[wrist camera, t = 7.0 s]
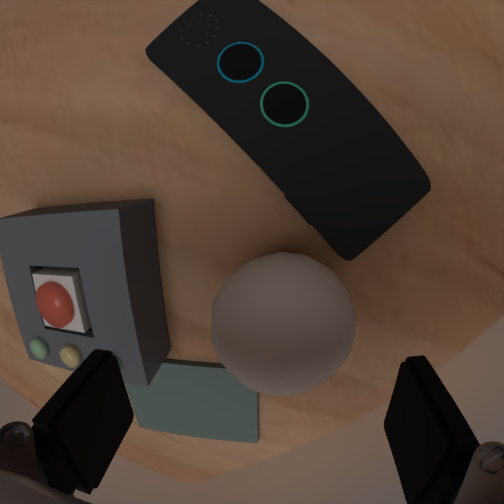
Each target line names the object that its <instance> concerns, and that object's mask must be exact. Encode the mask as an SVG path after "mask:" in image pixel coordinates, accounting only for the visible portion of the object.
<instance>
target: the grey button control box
mask: <svg viewBox="0 0 504 504" xmlns="http://www.w3.org/2000/svg"><path fill="white" fill-rule="evenodd" d="M0 253H1V258H2V263H3V268H4V273H5V277H6V282H7V286H8V290H9V294H10V298H11V302H12V305H13V309H14V313H15V316H16V319H17V323H18V326H19V329H20V332H21V335H22V338H23V341H24V344H25V347H26V350H27V353H28V355H29V358H30V359H32V360H36V361H39V362H42V363H46V364H49V365H53V366H56V367H60V368H64V369H67V370H71V371H75V370H76V369H77V368H78V367H79V365H80V364H81V363H82V362H83V361H84V360H85V359H86V358H87V357H88V355H89V354H90V353H91V352H92V351H93V350H94V349H102V350H108V351H111V352H112V353H113V355H114V356H116V357H117V360H118V363H119V367H120V371H121V374H122V378H123V381H124V382H125V383H131V384H136V385H142V386H149V385H150V383H151V381H152V380H153V378H154V376H155V375H156V373H157V372H158V370H159V368H160V367H161V365H162V363H163V362H164V360H165V359H166V357H167V355H168V354H169V352H170V350H171V347H170V341H169V335H168V328H167V321H166V315H165V307H164V300H163V292H162V284H161V276H160V267H159V258H158V248H157V237H156V226H155V213H154V199H142V200H126V201H112V202H99V203H87V204H75V205H65V206H54V207H45V208H36V209H32V210H28V211H24V212H20V213H17V214H13V215H9V216H6V217H2V218H0ZM47 266H49V267H70V268H79V270H80V275H81V281H82V286H83V291H84V296H85V301H86V305H87V310H88V314H89V319H90V323H91V328H89V329H88V330H87V331H86V332H85V333H83V332H77V331H72V330H66V329H61V328H55V327H50V326H45V324H44V321H43V317H42V315H41V314H40V312H39V310H38V307H37V304H36V290H35V285H34V281H33V276H32V274H33V273H35V272H37V271H39V270H41V269H43V268H45V267H47Z"/></svg>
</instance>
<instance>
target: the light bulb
mask: <svg viewBox="0 0 504 504" xmlns="http://www.w3.org/2000/svg"><path fill="white" fill-rule="evenodd" d="M354 335H355V316H354V311H353V305H352V300H351V294H350V293H349V292H348V290H347V289H346V288H345V286H344V285H343V284H342V282H341V281H340V280H339V278H338V277H337V276H336V274H335V273H334V272H333V271H332V270H330V269H329V268H328V267H326V266H324V265H323V264H321V263H319V262H317V261H316V260H314V259H312V258H310V257H309V256H307V255H303V254H295V253H288V252H277V253H273V254H269V255H266V256H262V257H258V258H254V259H253V260H251V261H249V262H248V263H246V264H245V265H244V266H242V267H241V268H240V269H238V270H237V271H236V272H235V273H233V274H232V275H231V276H229V277H228V278H227V279H225V281H224V283H223V285H222V287H221V289H220V290H219V292H218V294H217V296H216V298H215V300H214V302H213V310H212V326H211V340H212V343H213V345H214V348H215V350H216V353H217V355H218V358H219V360H220V362H221V363H222V364H223V365H224V366H225V367H226V368H227V369H228V370H229V371H230V372H231V373H232V374H233V375H234V376H235V377H236V378H237V379H238V380H239V381H240V382H242V383H243V384H244V385H245V386H246V387H247V388H249V389H252V390H254V391H257V392H259V393H262V394H268V395H274V396H279V397H280V396H287V395H293V394H299V393H305V392H307V391H309V390H311V389H312V388H314V387H316V386H318V385H319V384H321V383H323V382H324V381H326V380H328V379H329V378H330V377H331V376H332V375H334V373H335V372H336V371H337V370H338V368H339V367H340V366H341V365H342V364H343V362H344V361H345V360H346V358H347V357H348V356H349V353H350V349H351V346H352V342H353V339H354Z"/></svg>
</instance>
